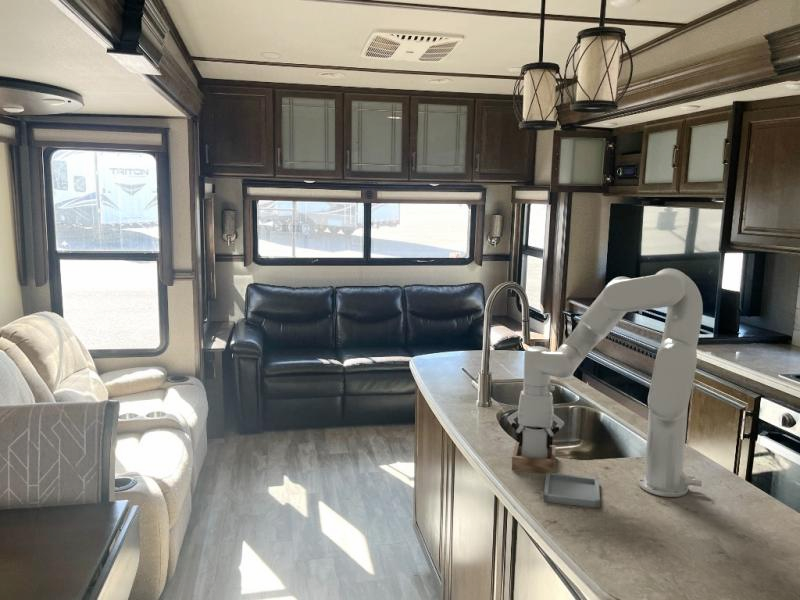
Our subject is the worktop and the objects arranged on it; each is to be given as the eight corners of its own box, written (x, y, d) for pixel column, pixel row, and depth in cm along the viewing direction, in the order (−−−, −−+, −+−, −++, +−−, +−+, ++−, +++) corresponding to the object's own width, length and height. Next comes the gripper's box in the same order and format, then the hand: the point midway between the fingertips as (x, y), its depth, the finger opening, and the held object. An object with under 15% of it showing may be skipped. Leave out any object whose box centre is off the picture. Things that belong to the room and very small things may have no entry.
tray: (598, 484, 172) (598, 478, 172) (599, 508, 159) (600, 501, 158) (546, 478, 176) (546, 472, 175) (543, 501, 162) (543, 494, 162)
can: (547, 470, 181) (548, 431, 179) (521, 468, 182) (522, 429, 180) (546, 459, 188) (547, 422, 186) (521, 457, 190) (522, 420, 188)
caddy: (555, 457, 189) (555, 445, 189) (554, 474, 178) (554, 461, 177) (515, 453, 193) (516, 441, 192) (511, 469, 181) (512, 456, 181)
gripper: (567, 387, 183) (565, 444, 186) (507, 382, 187) (506, 438, 190) (567, 395, 176) (564, 454, 178) (505, 390, 180) (503, 447, 183)
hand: (534, 445), depth 184 cm, fingers closed on can, 7 cm apart
